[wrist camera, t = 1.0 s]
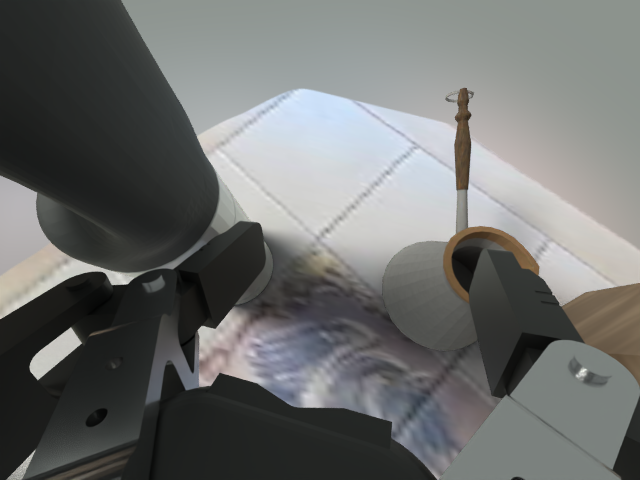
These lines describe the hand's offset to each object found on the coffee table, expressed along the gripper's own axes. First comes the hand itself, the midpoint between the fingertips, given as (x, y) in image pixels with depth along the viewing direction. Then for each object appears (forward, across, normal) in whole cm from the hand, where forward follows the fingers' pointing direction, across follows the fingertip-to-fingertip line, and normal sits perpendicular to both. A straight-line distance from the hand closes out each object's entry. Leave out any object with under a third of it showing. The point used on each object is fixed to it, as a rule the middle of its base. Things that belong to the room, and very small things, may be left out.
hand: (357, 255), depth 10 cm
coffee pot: (+22, -5, +13) cm, 26 cm away
